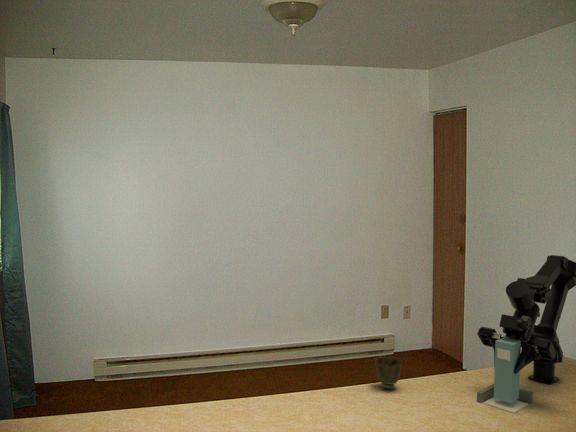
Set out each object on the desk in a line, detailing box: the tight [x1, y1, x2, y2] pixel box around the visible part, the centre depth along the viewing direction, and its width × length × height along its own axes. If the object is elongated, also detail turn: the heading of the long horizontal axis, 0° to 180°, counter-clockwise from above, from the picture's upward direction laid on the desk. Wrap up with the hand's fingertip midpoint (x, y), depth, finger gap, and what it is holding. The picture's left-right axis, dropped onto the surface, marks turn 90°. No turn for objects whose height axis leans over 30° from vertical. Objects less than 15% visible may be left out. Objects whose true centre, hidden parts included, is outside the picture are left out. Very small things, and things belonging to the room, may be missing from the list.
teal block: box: [493, 337, 522, 403], centre depth 138 cm, size 5×5×15 cm
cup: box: [374, 355, 403, 391], centre depth 148 cm, size 8×7×8 cm
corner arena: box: [476, 383, 534, 414], centre depth 140 cm, size 11×10×2 cm
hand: (505, 370), depth 137 cm, fingers closed on teal block, 5 cm apart
